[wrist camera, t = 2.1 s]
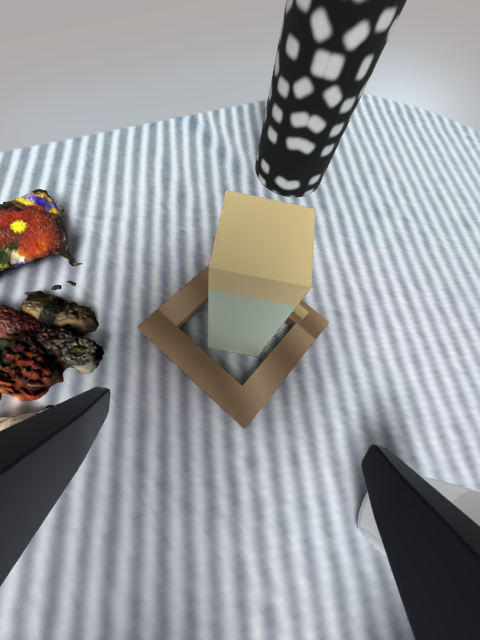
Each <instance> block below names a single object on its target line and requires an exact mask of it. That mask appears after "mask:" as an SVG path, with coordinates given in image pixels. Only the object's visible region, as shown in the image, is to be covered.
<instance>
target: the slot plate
mask: <svg viewBox="0 0 480 640" xmlns="http://www.w3.org/2000/svg"><path fill="white" fill-rule="evenodd" d="M208 282H209V265H208V266H207V267H206V268H205V269H204V270H202V271H201V272H200V273H199V274H198V275H197V276H195V277H194V278H193V279H192V280H191V281H190V282H188V283H187V284H186V285H185V286H184V287H183V288H182V289H180V290H179V291H178V292H177V293H176V294H175V295H173V296H172V297H171V298H170V299H169V300H168V301H166V302H165V303H164V304H163V305H162V306H161V307H160V308H158V309H157V310H156V311H155V312H154V313H153V314H151V315H150V316H149V317H148V318H147V319H146V320H144V321H143V322H142V323H141V324H140V325H139V326H138V328H139V330H140V331H141V332H142V333H143V334H144V335H145V336H146V337H147V338H148V339H149V340H150V341H152V342H153V343H154V344H155V345H156V346H157V347H158V348H159V349H160V350H161V351H162V352H163V353H164V354H165V355H166V356H167V357H168V358H170V359H171V360H172V361H173V362H174V363H175V364H176V365H177V366H178V367H179V368H180V369H181V370H182V371H183V372H184V373H185V374H186V375H187V376H189V377H190V378H191V379H192V380H193V381H194V382H195V383H196V384H197V385H198V386H199V387H200V388H201V389H202V390H203V391H204V392H205V393H206V394H208V395H209V396H210V397H211V398H212V399H213V400H214V401H215V402H216V403H217V404H218V405H219V406H220V407H221V408H222V409H223V410H224V411H226V412H227V413H228V414H229V415H230V416H231V417H232V418H233V419H234V420H235V421H236V422H237V423H238V424H239V425H240V426H241V427H242V428H246V427H247V426H248V424H249V423H250V422H251V421H252V419H253V418H254V417H255V416H256V414H257V413H258V412H259V410H260V409H261V408H262V407H263V405H264V404H265V403H266V402H267V400H268V399H269V398H270V397H271V395H272V394H273V393H274V391H275V390H276V389H277V388H278V386H279V385H280V384H281V383H282V381H283V380H284V379H285V378H286V376H287V375H288V374H289V372H290V371H291V370H292V369H293V367H294V366H295V365H296V364H297V362H298V361H299V360H300V359H301V357H302V356H303V355H304V353H305V352H306V351H307V350H308V348H309V347H310V346H311V345H312V343H313V342H314V341H315V340H316V338H317V337H318V336H319V334H320V333H321V332H322V331H323V329H324V328H325V327H326V326H327V324H328V323H329V322H328V321H327V320H326V319H324V318H323V317H322V316H321V315H319V314H318V313H317V312H316V311H314V310H313V309H312V308H311V307H310V306H308V305H307V304H306V303H305V302H303V301H302V300H301V301H300V303H299V304H298V305H297V306H296V308H295V309H294V310H293V312H292V313H291V314H290V315H289V317H288V318H287V319H286V321H285V322H286V323H287V324H288V325H290V326H291V327H292V328H291V329H290V330H289V332H288V333H287V334H286V335H285V336H284V337H283V339H282V340H281V341H280V342H279V343H278V344H277V346H276V347H275V348H274V349H273V350H272V351H271V353H270V354H269V355H268V356H267V357H266V358H265V360H264V361H263V362H262V363H261V364H260V366H259V367H258V368H257V369H256V370H255V371H254V373H253V374H252V375H251V376H250V377H249V378H248V380H247V381H246V382H245V383H244V384H243V385H241V384H240V383H238V382H237V381H236V380H235V379H234V378H233V377H232V376H231V375H230V374H229V373H228V372H226V371H225V370H224V369H223V368H222V367H221V366H220V365H219V364H218V363H217V362H215V361H214V360H213V359H212V358H211V357H210V356H209V355H208V354H207V353H206V352H205V351H203V350H202V349H201V348H200V347H199V346H198V345H197V344H196V343H195V342H194V341H192V340H191V339H190V338H189V337H188V336H187V335H186V334H185V333H184V332H183V331H182V330H180V328H181V327H182V326H183V325H184V324H185V323H186V322H187V321H188V320H189V319H190V318H192V317H193V316H194V315H195V314H196V313H197V312H198V311H199V310H200V309H201V308H202V307H203V306H204V305H205V304H207V303H208Z"/></svg>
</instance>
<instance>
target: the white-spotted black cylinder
mask: <svg viewBox="0 0 480 640" xmlns="http://www.w3.org/2000/svg"><path fill="white" fill-rule="evenodd" d="M405 2H406V0H287V2H286V7H285V13H284V18H283V23H282V28H281V34H280V39H279V44H278V50H277V55H276V60H275V65H274V70H273V76H272V81H271V87H270V92H269V97H268V102H267V107H266V113H265V118H264V123H263V128H262V134H261V139H260V144H259V150H258V155H257V160H256V166H255V169H256V174H257V176H258V178H259V180H260V181H261V182H262V183H263V184H264V185H265V186H266V187H267V188H268V189H270V190H271V191H273V192H275V193H277V194H280V195H283V196H288V197H301V196H305V195H309V194H310V193H312V192H314V191H315V190H316V189H317V187H318V186H319V184H320V182H321V180H322V178H323V176H324V173H325V171H326V169H327V167H328V165H329V163H330V161H331V159H332V157H333V154H334V152H335V150H336V148H337V146H338V144H339V142H340V140H341V138H342V135H343V133H344V131H345V129H346V127H347V125H348V123H349V121H350V119H351V116H352V114H353V112H354V110H355V108H356V106H357V104H358V102H359V100H360V97H361V95H362V93H363V91H364V89H365V87H366V85H367V82H368V81H369V78H370V76H371V74H372V72H373V70H374V68H375V66H376V64H377V61H378V59H379V57H380V55H381V53H382V51H383V49H384V47H385V45H386V42H387V40H388V38H389V36H390V34H391V32H392V30H393V28H394V26H395V24H396V21H397V19H398V17H399V15H400V13H401V11H402V9H403V7H404V5H405Z"/></svg>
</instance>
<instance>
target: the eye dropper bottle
mask: <svg viewBox="0 0 480 640" xmlns="http://www.w3.org/2000/svg"><path fill="white" fill-rule="evenodd" d="M421 477H422V478H423V479H424V480H425V481H427V482H428V483H429V484H430V485H431V486H433V487H434V488H435V489H436V490H437V491H439V492H440V493H441V494H442V495H443V496H444V497H446V498H447V499H448V500H449V501H450V502H452V503H453V504H454V505H455V506H456V507H458V508H459V509H460V510H461V511H462V512H463V513H465V514H466V515H467V516H468V517H469V518H471V519H472V520H473V521H474V522H475V523H477V524H478V525H479V526H480V492H477V491H475V490H472V489H468V488H465V487H461V486H458V485H454V484H450V483H446V482H442V481H438V480H435V479H431V478H427V477H423V476H421ZM357 522H358V528H359V530H360V532H361V534H362V535H363V536H364V537H365V538H366V540H367V541H368V542H369V543H370V544H371V545H372V546H373V547H374V548H375V549H376V550H377V551H378V552H380V553H381V554H382V555H383V556H385V557H386V558H387V555H386V552H385V549H384V546H383V543H382V540H381V537H380V534H379V531H378V528H377V525H376V522H375V519H374V515H373V512H372V508H371V504H370V500H369V496H368V492H367V493H366V495H365V497H364V499H363V501H362V504H361V507H360V511H359V515H358V521H357ZM387 559H388V558H387Z"/></svg>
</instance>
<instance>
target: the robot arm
mask: <svg viewBox="0 0 480 640" xmlns="http://www.w3.org/2000/svg"><path fill="white" fill-rule="evenodd" d="M109 404H110V390H109V389H107V388H103V387H94V388H92V389H90V390H88V391H86V392H84V393H81V394H79V395H77V396H75V397H73V398H71V399H68V400H66V401H64V402H62V403H60V404H57V405H55V406H53V407H51V408H49V409H47V410H44V411H42V412H40V413H38V414H36V415H34V416H31V417H29V418H27V419H25V420H23V421H21V422H18V423H16V424H14V425H12V426H10V427H8V428H5V429H3V430H1V431H0V586H1V585H2V583H3V582H4V580H5V579H6V577H7V576H8V574H9V573H10V571H11V570H12V568H13V567H14V565H15V564H16V562H17V561H18V559H19V558H20V556H21V555H22V553H23V552H24V550H25V549H26V547H27V546H28V544H29V543H30V541H31V539H32V538H33V536H34V535H35V533H36V532H37V530H38V529H39V527H40V526H41V524H42V523H43V521H44V520H45V518H46V517H47V515H48V514H49V512H50V511H51V509H52V508H53V506H54V505H55V503H56V502H57V500H58V499H59V497H60V496H61V494H62V493H63V491H64V490H65V488H66V487H67V485H68V484H69V482H70V481H71V479H72V478H73V476H74V475H75V473H76V472H77V470H78V469H79V467H80V465H81V464H82V462H83V460H84V459H85V457H86V455H87V453H88V451H89V449H90V447H91V446H92V444H93V442H94V440H95V438H96V436H97V434H98V432H99V430H100V428H101V427H102V425H103V423H104V421H105V419H106V417H107V415H108V412H109ZM362 471H363V475H364V479H365V484H366V488H367V492H368V496H369V500H370V504H371V508H372V512H373V515H374V519H375V522H376V525H377V528H378V531H379V534H380V537H381V540H382V543H383V546H384V549H385V552H386V555H387V558H388V561H389V564H390V567H391V570H392V573H393V576H394V579H395V582H396V584H397V587H398V590H399V593H400V596H401V599H402V602H403V605H404V608H405V611H406V614H407V617H408V620H409V623H410V626H411V629H412V632H413V635H414V638H415V640H480V526H479V525H478V524H477V523H475V522H474V521H473V520H472V519H471V518H469V517H468V516H467V515H466V514H465V513H463V512H462V511H461V510H460V509H459V508H458V507H456V506H455V505H454V504H453V503H452V502H450V501H449V500H448V499H447V498H446V497H444V496H443V495H442V494H441V493H440V492H439V491H437V490H436V489H435V488H434V487H433V486H431V485H430V484H429V483H428V482H427V481H425V480H424V479H423V478H422V477H421V476H419V475H418V474H417V473H416V472H415V471H414V470H412V469H411V468H410V467H409V466H408V465H406V464H405V463H404V462H403V461H402V460H400V459H399V458H398V457H397V456H396V455H395V454H393V453H392V452H391V451H390V450H389V449H387V448H386V447H384V446H381V445H376V444H373V445H371V446H370V447H369V449H368V451H367V453H366V455H365V456H364V458H363V460H362Z"/></svg>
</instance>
